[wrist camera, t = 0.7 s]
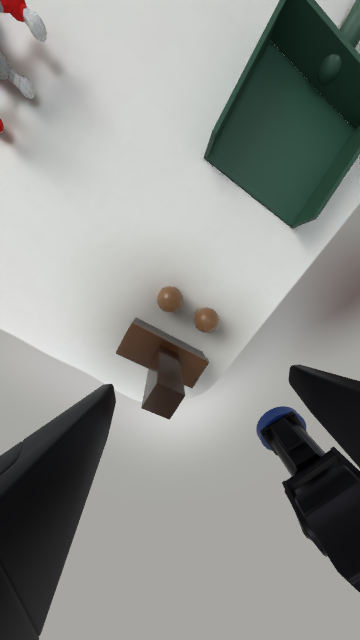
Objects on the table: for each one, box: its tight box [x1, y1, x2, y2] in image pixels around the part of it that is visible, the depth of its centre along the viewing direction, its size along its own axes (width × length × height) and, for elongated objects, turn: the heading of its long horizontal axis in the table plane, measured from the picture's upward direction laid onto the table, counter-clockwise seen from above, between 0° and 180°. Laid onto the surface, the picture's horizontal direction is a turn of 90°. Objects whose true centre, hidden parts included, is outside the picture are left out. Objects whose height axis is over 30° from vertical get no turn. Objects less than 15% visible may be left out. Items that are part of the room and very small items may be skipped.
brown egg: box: [157, 286, 183, 313], centre depth 19 cm, size 3×3×3 cm
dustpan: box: [204, 0, 360, 228], centre depth 15 cm, size 20×13×3 cm, turn 150°
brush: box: [116, 318, 209, 419], centre depth 17 cm, size 10×4×10 cm, turn 60°
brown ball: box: [194, 308, 219, 332], centre depth 20 cm, size 3×3×3 cm
